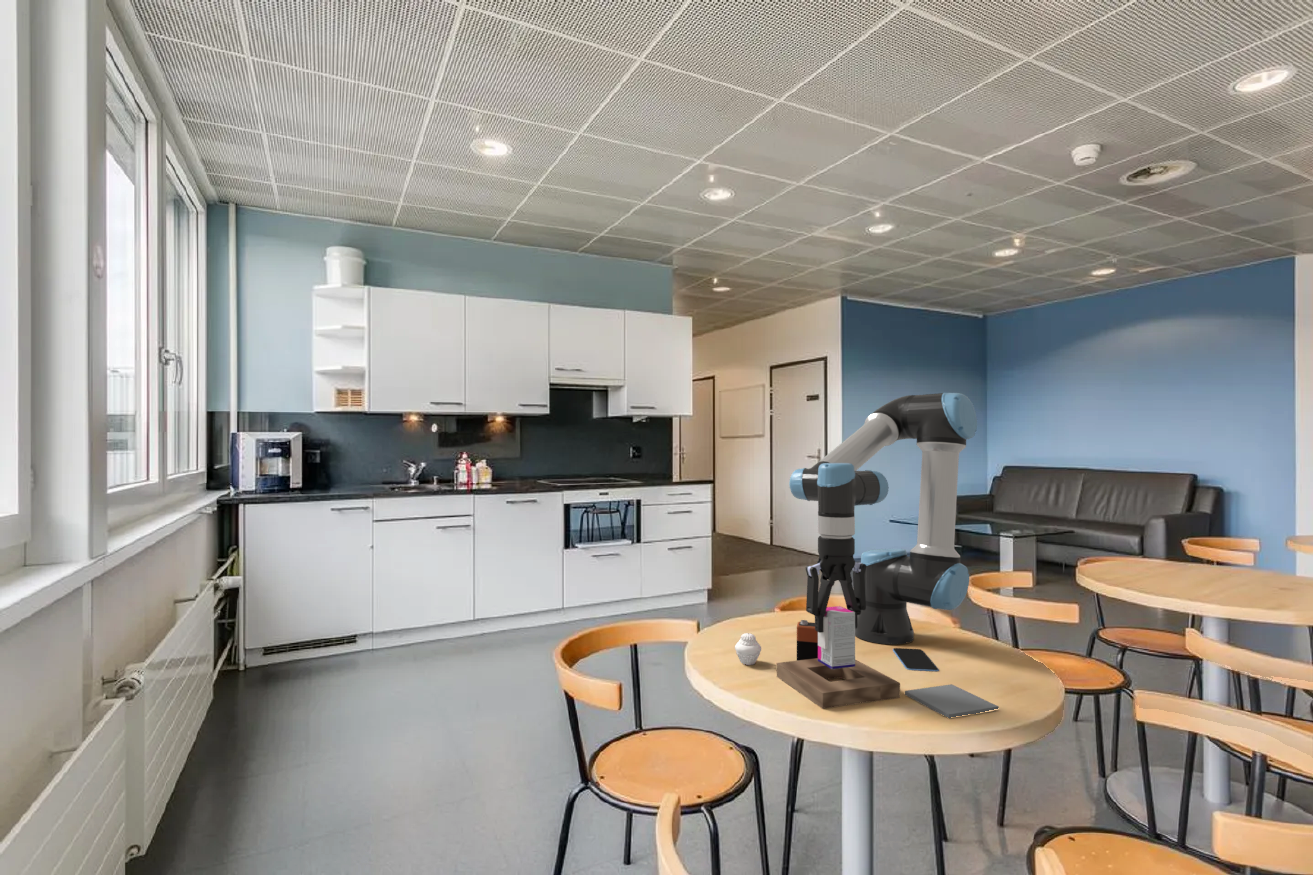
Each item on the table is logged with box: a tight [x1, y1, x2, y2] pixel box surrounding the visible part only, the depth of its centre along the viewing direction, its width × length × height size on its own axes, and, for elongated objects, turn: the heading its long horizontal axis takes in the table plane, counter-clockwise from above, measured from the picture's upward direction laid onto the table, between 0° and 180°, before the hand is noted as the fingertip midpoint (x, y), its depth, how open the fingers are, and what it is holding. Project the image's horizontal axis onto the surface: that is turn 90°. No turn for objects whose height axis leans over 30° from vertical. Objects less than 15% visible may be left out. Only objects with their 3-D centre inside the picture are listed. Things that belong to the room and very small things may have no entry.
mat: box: [904, 683, 999, 719], centre depth 127 cm, size 12×12×1 cm
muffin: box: [734, 632, 762, 666], centre depth 150 cm, size 6×6×7 cm
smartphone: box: [892, 647, 940, 672], centre depth 152 cm, size 7×1×15 cm
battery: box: [796, 619, 818, 661], centre depth 149 cm, size 4×7×10 cm, turn 74°
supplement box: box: [818, 605, 856, 669], centre depth 135 cm, size 6×6×12 cm
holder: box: [776, 658, 901, 710], centre depth 135 cm, size 18×18×3 cm
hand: (836, 645), depth 135 cm, fingers closed on supplement box, 6 cm apart
